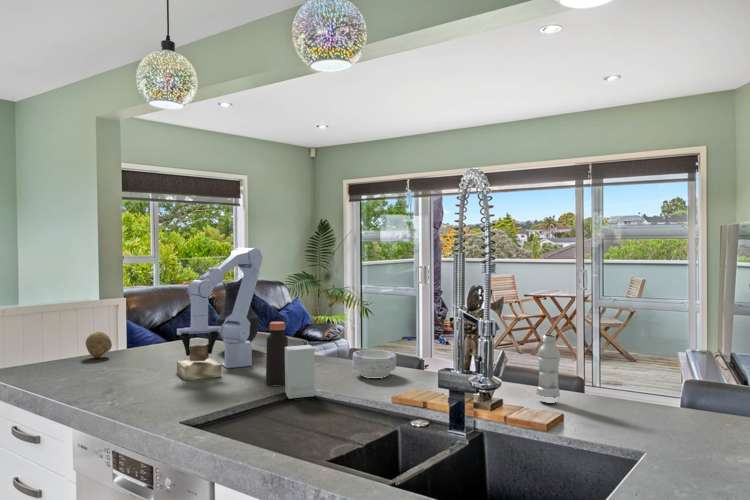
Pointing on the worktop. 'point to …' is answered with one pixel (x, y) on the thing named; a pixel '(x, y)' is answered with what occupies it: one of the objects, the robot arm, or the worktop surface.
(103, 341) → the natural sponge
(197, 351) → the walnut cube
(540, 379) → the plastic bottle
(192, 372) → the birch pedestal
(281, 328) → the vinegar
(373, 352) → the grey stone bowl
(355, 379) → the worktop surface
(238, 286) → the pitcher
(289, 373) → the skincare box
